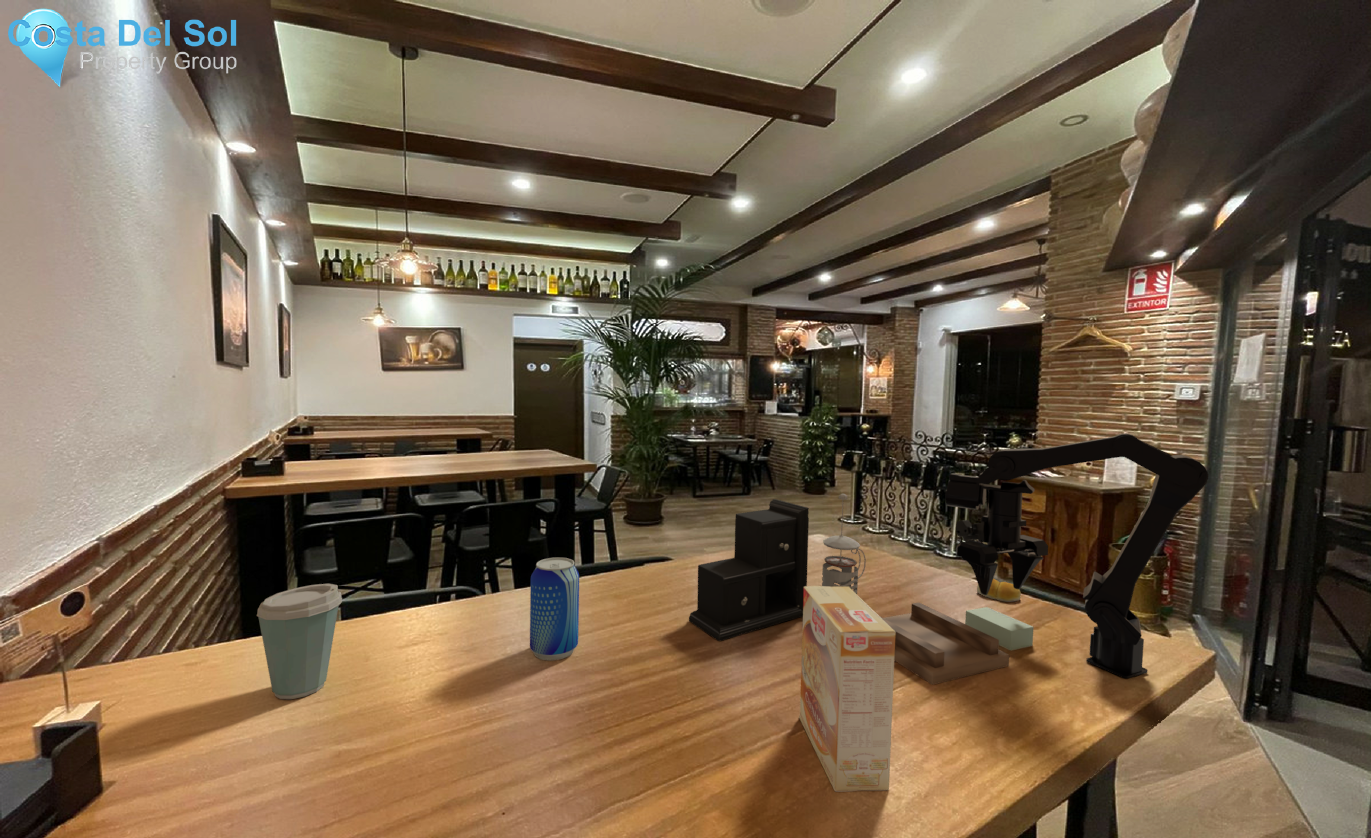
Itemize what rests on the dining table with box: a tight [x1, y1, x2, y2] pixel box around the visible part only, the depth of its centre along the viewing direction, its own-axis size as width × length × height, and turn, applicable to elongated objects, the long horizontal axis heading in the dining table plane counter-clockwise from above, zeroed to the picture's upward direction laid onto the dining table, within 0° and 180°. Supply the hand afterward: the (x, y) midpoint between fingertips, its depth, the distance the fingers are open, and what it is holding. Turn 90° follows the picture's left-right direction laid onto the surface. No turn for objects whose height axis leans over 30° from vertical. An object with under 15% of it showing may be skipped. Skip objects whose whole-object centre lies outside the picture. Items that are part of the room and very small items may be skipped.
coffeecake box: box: [798, 585, 896, 793], centre depth 70 cm, size 15×7×20 cm, turn 4°
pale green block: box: [964, 606, 1034, 652], centre depth 106 cm, size 10×6×4 cm, turn 22°
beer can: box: [529, 557, 580, 662], centre depth 95 cm, size 8×8×16 cm
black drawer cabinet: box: [688, 498, 810, 642], centre depth 111 cm, size 23×11×24 cm, turn 123°
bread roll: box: [976, 578, 1022, 603], centre depth 129 cm, size 8×9×4 cm
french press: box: [821, 493, 867, 595], centre depth 122 cm, size 10×12×25 cm
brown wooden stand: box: [880, 602, 1010, 685], centre depth 100 cm, size 20×18×4 cm
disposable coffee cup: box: [256, 583, 343, 700], centre depth 82 cm, size 11×11×15 cm
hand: (1000, 591), depth 106 cm, fingers open, 9 cm apart
